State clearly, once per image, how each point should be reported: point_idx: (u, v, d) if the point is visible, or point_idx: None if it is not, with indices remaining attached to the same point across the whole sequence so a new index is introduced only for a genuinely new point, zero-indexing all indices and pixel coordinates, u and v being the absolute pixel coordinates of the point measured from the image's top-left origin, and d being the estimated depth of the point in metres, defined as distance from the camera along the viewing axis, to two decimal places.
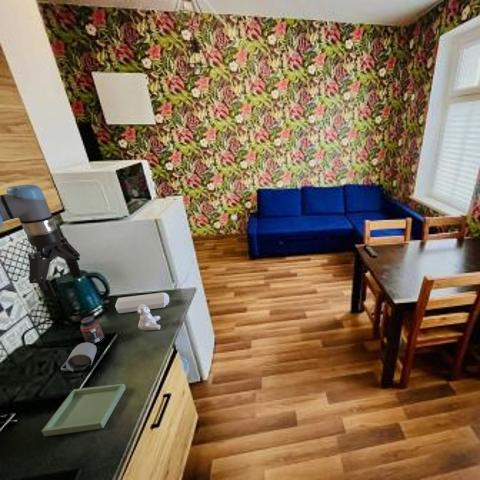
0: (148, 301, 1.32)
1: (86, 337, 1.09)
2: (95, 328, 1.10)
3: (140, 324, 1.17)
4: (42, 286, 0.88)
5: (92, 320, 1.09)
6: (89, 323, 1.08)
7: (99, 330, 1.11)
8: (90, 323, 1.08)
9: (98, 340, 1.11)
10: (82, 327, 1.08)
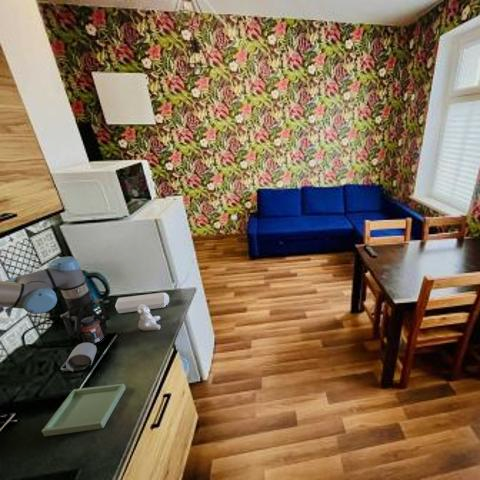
0: (148, 301, 1.32)
1: (86, 337, 1.09)
2: (95, 328, 1.10)
3: (140, 324, 1.17)
4: (77, 337, 1.07)
5: (92, 320, 1.09)
6: (89, 323, 1.08)
7: (99, 330, 1.11)
8: (90, 323, 1.08)
9: (98, 340, 1.11)
10: (82, 327, 1.08)
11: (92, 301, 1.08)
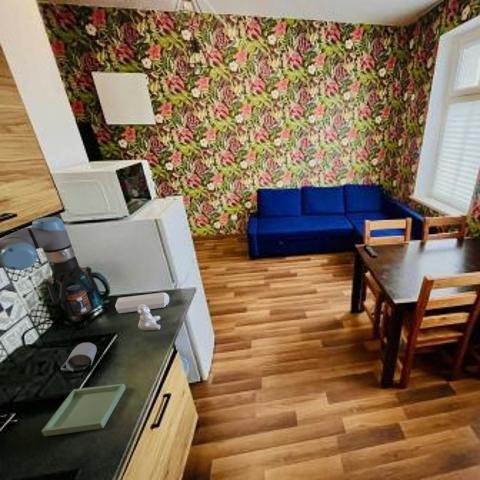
0: (148, 301, 1.32)
1: (72, 306, 1.02)
2: (82, 297, 1.03)
3: (140, 324, 1.17)
4: (62, 305, 1.01)
5: (78, 288, 1.03)
6: (75, 291, 1.01)
7: (86, 299, 1.05)
8: (77, 291, 1.02)
9: (85, 310, 1.05)
10: (67, 295, 1.01)
11: (78, 267, 1.01)
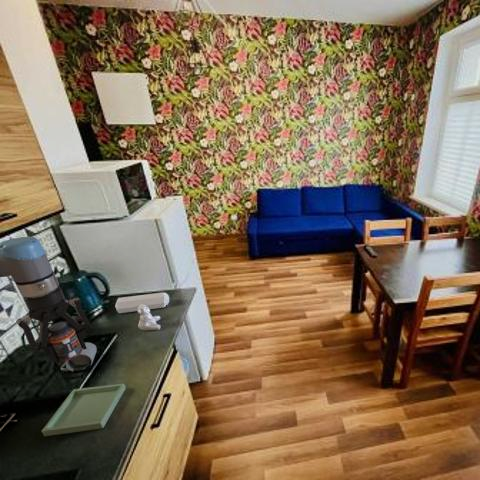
0: (148, 301, 1.32)
1: (56, 350, 0.79)
2: (69, 338, 0.80)
3: (140, 324, 1.17)
4: (43, 351, 0.77)
5: (65, 327, 0.79)
6: (60, 332, 0.78)
7: (75, 340, 0.81)
8: (62, 331, 0.78)
9: (74, 354, 0.81)
10: (50, 337, 0.77)
11: (64, 301, 0.78)
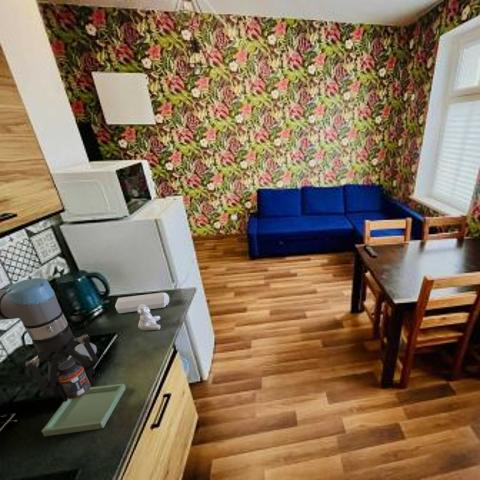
0: (148, 301, 1.32)
1: (65, 389, 0.78)
2: (78, 377, 0.78)
3: (140, 324, 1.17)
4: (52, 390, 0.76)
5: (73, 365, 0.78)
6: (68, 371, 0.77)
7: (84, 378, 0.80)
8: (71, 369, 0.77)
9: (82, 392, 0.80)
10: (59, 376, 0.76)
11: (73, 339, 0.77)
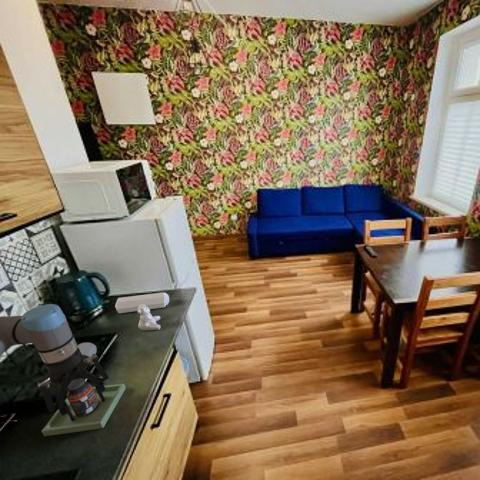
0: (148, 301, 1.32)
1: (74, 408, 0.81)
2: (87, 396, 0.82)
3: (140, 324, 1.17)
4: (60, 410, 0.79)
5: (83, 385, 0.81)
6: (78, 390, 0.80)
7: (92, 396, 0.83)
8: (80, 389, 0.81)
9: (91, 410, 0.83)
10: (69, 395, 0.80)
11: (83, 360, 0.80)
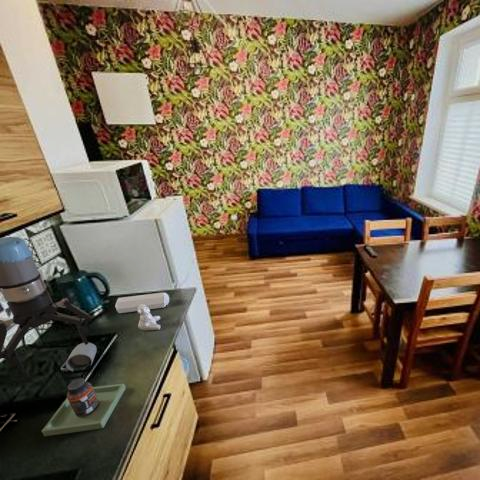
0: (148, 301, 1.32)
1: (74, 408, 0.81)
2: (87, 396, 0.82)
3: (140, 324, 1.17)
4: (7, 361, 0.69)
5: (83, 385, 0.81)
6: (78, 390, 0.80)
7: (92, 396, 0.83)
8: (80, 389, 0.81)
9: (91, 410, 0.83)
10: (69, 395, 0.80)
11: (52, 305, 0.73)
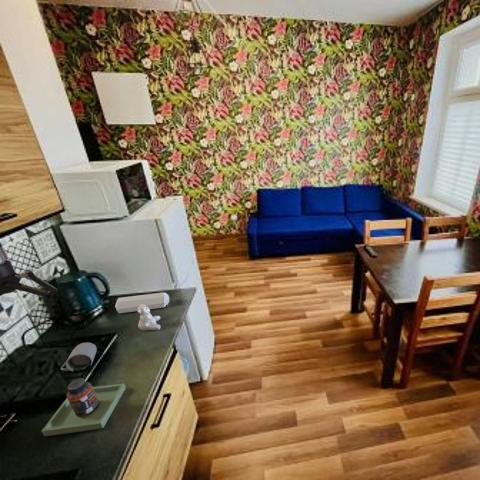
0: (148, 301, 1.32)
1: (74, 408, 0.81)
2: (87, 396, 0.82)
3: (140, 324, 1.17)
4: None
5: (83, 385, 0.81)
6: (78, 390, 0.80)
7: (92, 396, 0.83)
8: (80, 389, 0.81)
9: (91, 410, 0.83)
10: (69, 395, 0.80)
11: (15, 275, 0.75)
